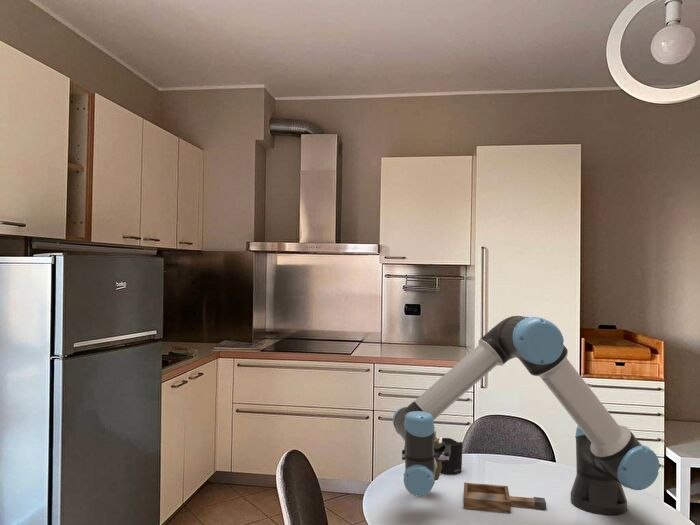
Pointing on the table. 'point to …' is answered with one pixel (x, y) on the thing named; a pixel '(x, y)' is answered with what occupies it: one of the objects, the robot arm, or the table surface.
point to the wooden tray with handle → (497, 498)
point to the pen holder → (453, 457)
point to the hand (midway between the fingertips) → (429, 440)
